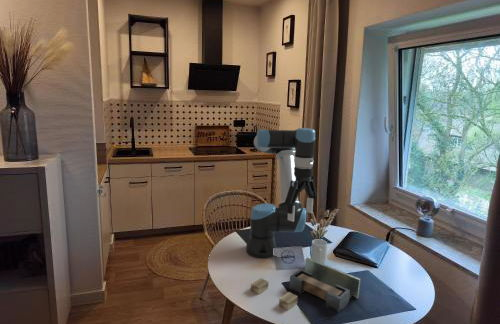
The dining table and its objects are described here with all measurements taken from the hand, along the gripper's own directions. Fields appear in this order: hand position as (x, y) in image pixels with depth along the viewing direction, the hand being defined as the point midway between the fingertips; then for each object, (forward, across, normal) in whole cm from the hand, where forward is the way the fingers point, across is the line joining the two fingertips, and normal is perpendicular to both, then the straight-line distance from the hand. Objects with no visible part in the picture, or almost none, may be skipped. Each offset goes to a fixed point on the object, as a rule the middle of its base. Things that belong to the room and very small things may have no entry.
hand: (300, 216), depth 146 cm
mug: (+27, +11, -4) cm, 29 cm away
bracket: (+27, -4, -15) cm, 31 cm away
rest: (+27, -20, -3) cm, 33 cm away
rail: (+26, -7, -15) cm, 31 cm away
